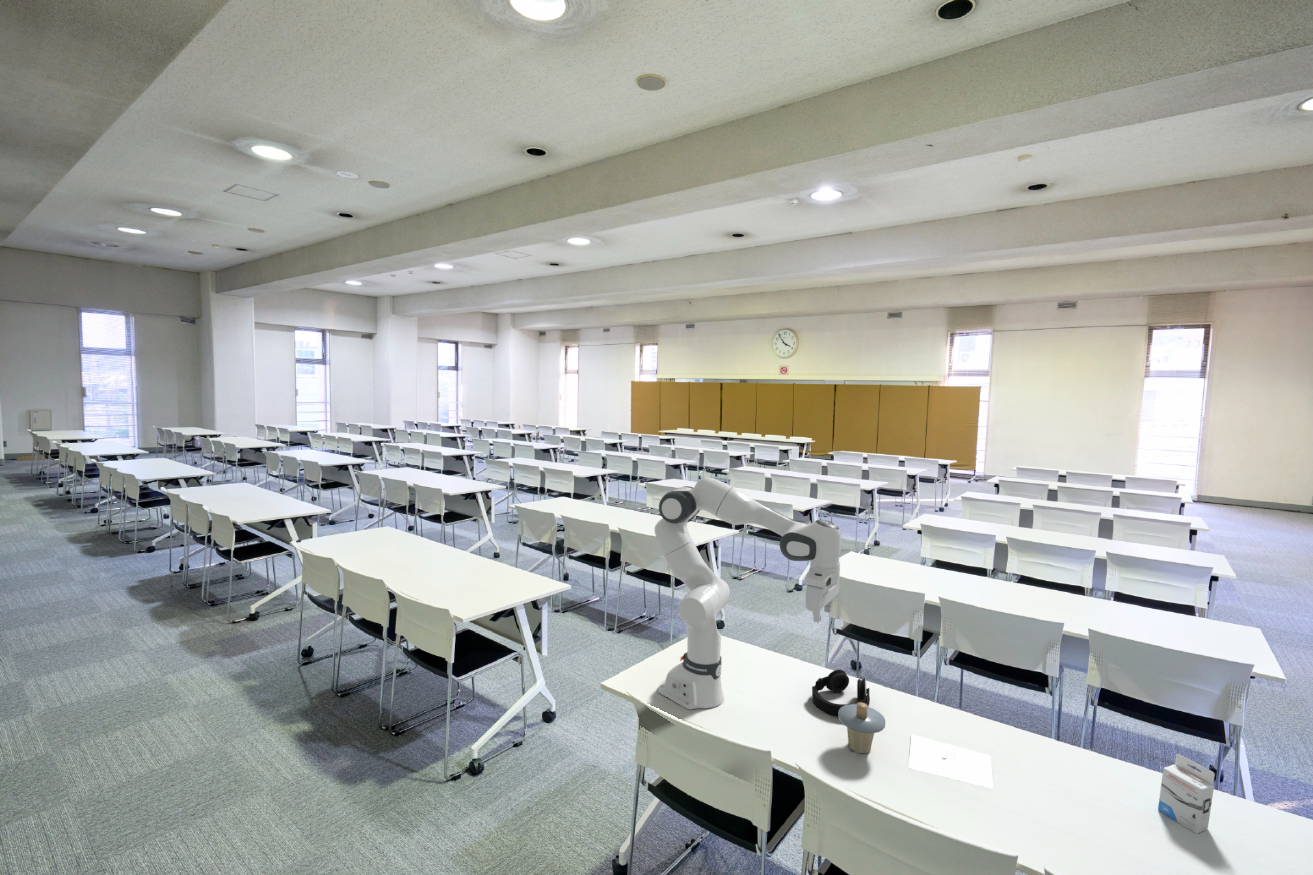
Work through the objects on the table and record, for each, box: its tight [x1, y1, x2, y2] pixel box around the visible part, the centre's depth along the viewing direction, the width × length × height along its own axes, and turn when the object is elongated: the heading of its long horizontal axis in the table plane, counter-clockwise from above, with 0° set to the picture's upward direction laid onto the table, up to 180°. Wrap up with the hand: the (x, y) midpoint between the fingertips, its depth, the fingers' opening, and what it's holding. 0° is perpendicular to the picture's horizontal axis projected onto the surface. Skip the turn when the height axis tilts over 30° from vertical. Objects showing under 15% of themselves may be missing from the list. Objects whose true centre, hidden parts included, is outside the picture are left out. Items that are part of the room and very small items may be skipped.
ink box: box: [1157, 753, 1216, 834], centre depth 148 cm, size 9×5×15 cm, turn 21°
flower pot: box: [846, 727, 875, 754], centre depth 175 cm, size 9×9×9 cm
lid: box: [837, 702, 886, 734], centre depth 174 cm, size 13×13×4 cm
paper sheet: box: [908, 733, 993, 789], centre depth 164 cm, size 24×29×1 cm
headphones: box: [811, 669, 871, 718], centre depth 199 cm, size 18×8×20 cm
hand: (822, 616), depth 185 cm, fingers open, 8 cm apart
